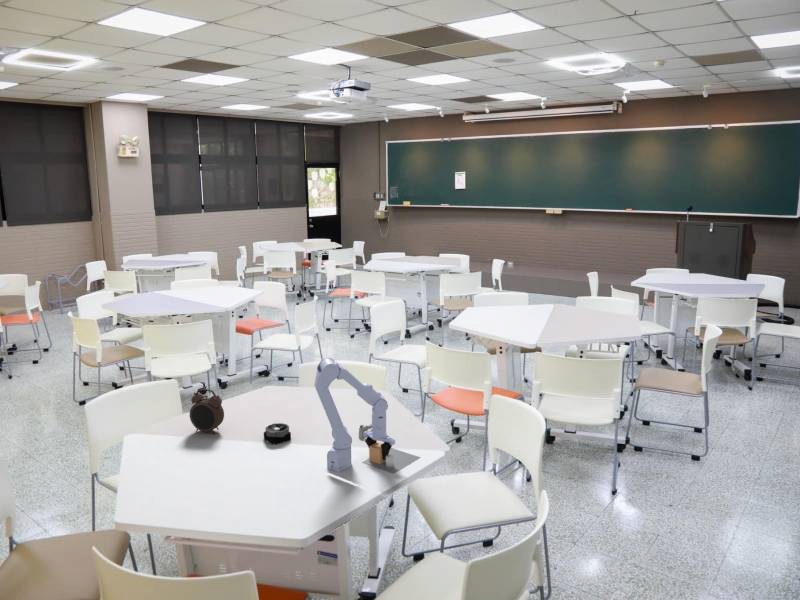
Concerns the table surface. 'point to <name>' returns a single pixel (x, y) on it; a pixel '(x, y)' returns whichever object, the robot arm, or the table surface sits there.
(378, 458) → the orange cube
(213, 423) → the alarm clock
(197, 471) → the table surface
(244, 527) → the table surface
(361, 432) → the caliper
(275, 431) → the cpu cooler
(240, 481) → the table surface
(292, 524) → the table surface
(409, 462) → the duct panel
